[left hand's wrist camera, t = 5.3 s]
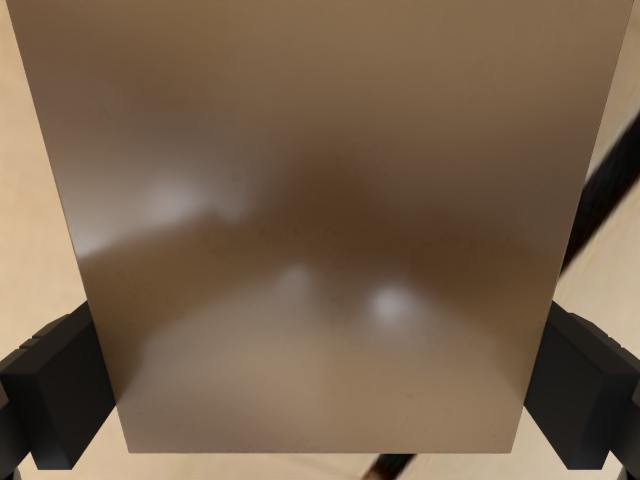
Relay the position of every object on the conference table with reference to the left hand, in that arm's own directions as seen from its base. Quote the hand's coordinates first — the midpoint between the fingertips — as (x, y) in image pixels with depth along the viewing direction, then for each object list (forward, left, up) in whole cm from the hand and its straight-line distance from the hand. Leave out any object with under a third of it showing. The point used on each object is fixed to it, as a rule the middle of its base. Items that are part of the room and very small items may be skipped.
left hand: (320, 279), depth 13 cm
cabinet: (+5, -2, -6) cm, 8 cm away
